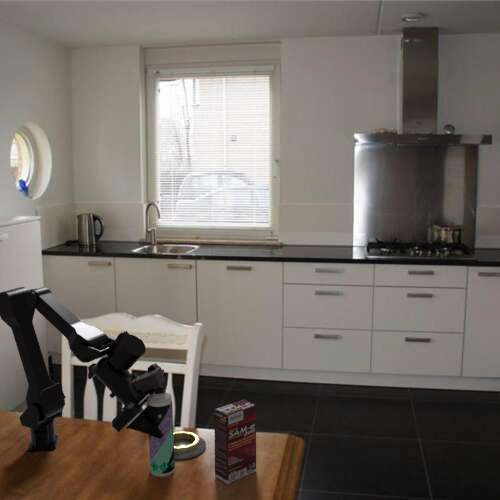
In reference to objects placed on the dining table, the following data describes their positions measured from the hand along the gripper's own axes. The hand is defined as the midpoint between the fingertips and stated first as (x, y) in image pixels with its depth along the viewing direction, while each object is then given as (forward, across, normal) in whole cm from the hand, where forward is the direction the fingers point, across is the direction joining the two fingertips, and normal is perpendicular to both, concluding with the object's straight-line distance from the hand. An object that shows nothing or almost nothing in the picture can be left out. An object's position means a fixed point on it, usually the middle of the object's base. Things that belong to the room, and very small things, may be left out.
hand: (166, 431), depth 140 cm
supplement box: (+18, +2, -4) cm, 18 cm away
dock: (+6, +11, +8) cm, 15 cm away
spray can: (+6, 0, +8) cm, 10 cm away
